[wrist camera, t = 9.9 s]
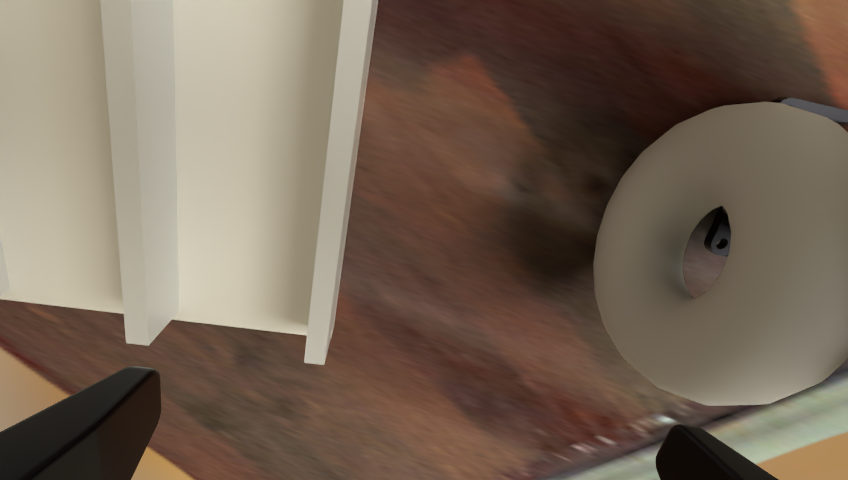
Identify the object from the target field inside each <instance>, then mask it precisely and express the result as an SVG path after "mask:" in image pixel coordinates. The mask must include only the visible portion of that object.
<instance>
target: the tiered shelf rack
mask: <svg viewBox="0 0 848 480" xmlns="http://www.w3.org/2000/svg"><path fill="white" fill-rule="evenodd" d="M377 6H378V0H0V299H4V300H12V301H20V302H29V303H37V304H46V305H54V306H63V307H71V308H79V309H88V310H96V311H105V312H113V313H122V314H124V322H125V335H126V343H130V344H139V345H148V346H149V345H150V344H151V342H152V341H153V340H154V339H155V338H156V337H157V336H158V334H159V333H160V332H161V331H162V330H163V329H164V328H165V327H166V325H167V324H168V323H169V322H170V321H171V320H181V321H189V322H198V323H206V324H214V325H223V326H231V327H240V328H248V329H257V330H265V331H273V332H282V333H290V334H299V335H307V340H306V349H305V358H304V363H312V364H321V365H324V364H325V360H326V355H327V351H328V347H329V342H330V338H331V337H332V333H333V328H334V322H335V315H336V308H337V300H338V293H339V286H340V278H341V271H342V264H343V256H344V249H345V242H346V234H347V227H348V220H349V212H350V205H351V197H352V190H353V183H354V175H355V168H356V161H357V153H358V146H359V139H360V131H361V124H362V117H363V109H364V102H365V94H366V87H367V80H368V72H369V65H370V58H371V50H372V43H373V36H374V28H375V21H376V14H377Z"/></svg>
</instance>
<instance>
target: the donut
mask: <svg viewBox="0 0 848 480" xmlns="http://www.w3.org/2000/svg"><path fill="white" fill-rule="evenodd" d="M719 206H723V207H724V209H725V210H726V212H727V214H728V218H729V223H730V228H731V241H730V251H729V255H728V257H727V260H726V262H725V265H724V268H723V270H722V273H721V274H720V275H719V277H718V278H717V279H716V281H715V282H714V283H713V285H712V286H711V287H710V289H709V290H707V291H706V292H705V293H703V294H702V295H701V296H699V297H698V298H695V299H694V298H693V297H692V296H691V295H690V293H689V291H688V289H687V287H686V285H685V282H684V277H683V270H682V269H683V260H684V251H685V249H686V246H687V243H688V241H689V238H690V235H691V233H692V232H693V230H694V229H695V227H696V226H697V224H698V223H699V221H700V220H701V219H702V218H703V217H704V216H705V215H707V214H708V213H709V212H710V211H711V210H713V209H715V208H717V207H719ZM593 271H594V288H595V297H596V301H597V305H598V308H599V312H600V315H601V319H602V322H603V325H604V327H605V329H606V331H607V333H608V334H609V336H610V338H611V339H612V341H613V343H614V344H615V346H616V348H617V349H618V351H619V353H620V354H621V356H622V358H623V359H625V360H626V361H627V362H628V363H629V364H630V365H631V366H633V367H634V368H635V369H636V370H637V371H638V372H639V373H641V374H642V375H643V376H644V377H645V378H646V379H647V380H649V381H650V382H651V383H652V384H654V385H655V386H656V387H657V388H660V389H663V390H665V391H668V392H671V393H673V394H676V395H679V396H681V397H684V398H687V399H689V400H692V401H695V402H698V403H701V404H704V405H707V406H718V405H759V404H770V403H772V402H775V401H777V400H779V399H782V398H784V397H787V396H789V395H792V394H794V393H796V392H799V391H801V390H804V389H806V388H809V387H811V386H814V385H816V384H818V383H820V382H822V381H823V380H824V379H826V378H827V377H828V376H829V375H830V374H831V373H832V372H833V371H835V370H836V369H837V368H838V367H839V366H840V365H841V364H842V363H843V362H844V361H845V360H846V359H847V358H848V132H847V131H846V130H845V129H843V128H842V127H841V126H840V125H839V124H837V123H836V122H834V121H832V120H830V119H829V118H827V117H824V116H821V115H818V114H815V113H811V112H808V111H805V110H802V109H799V108H795V107H792V106H789V105H786V104H782V103H774V102H758V103H747V104H736V105H725V106H721V107H717V108H713V109H710V110H708V111H706V112H703V113H701V114H699V115H697V116H694V117H692V118H690V119H687V120H685V121H683V122H681V123H678V124H676V125H675V126H674V127H672V128H671V129H670V130H669V131H667V132H666V133H665V134H664V135H662V136H661V137H660V138H659V139H657V140H656V141H655V142H654V143H652V144H651V145H650V146H649V147H647V148H646V149H645V150H644V151H642V153H641V154H640V155H639V156H638V158H637V159H636V160H635V161H634V163H633V164H632V165H631V166H630V168H629V169H628V170H627V171H626V172H625V174H624V175H623V176H622V178H621V180H620V181H619V183H618V185H617V187H616V189H615V191H614V193H613V195H612V197H611V198H610V200H609V202H608V204H607V206H606V210H605V213H604V216H603V219H602V222H601V225H600V228H599V231H598V234H597V241H596V248H595V256H594V263H593Z"/></svg>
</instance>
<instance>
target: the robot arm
mask: <svg viewBox="0 0 848 480" xmlns="http://www.w3.org/2000/svg"><path fill="white" fill-rule="evenodd" d="M772 102H774V103H782V104H786V105H789V106H792V107H795V108H799V109H802V110H805V111H808V112H811V113H815V114H818V115H821V116H824V117H827V118H829V119H830V120H832V121H834V122H836V123H837V124H839V125H840V126H841V127H842V128H843V129H845V130H846V131H847V132H848V110H843V109H839V108H835V107H830V106H826V105H821V104H817V103H813V102H808V101H804V100H800V99H795V98H786V97H779V98H777V99H774V100H773V101H772ZM720 239H721V241H720V243H719V244H717V242H718V241H719V240H720ZM730 241H731V228H730V223H729V218H728V214H727V212H726V210H725V209H724V207H723V206H720V208H719V210H718V212H717V214H716V217H715V219H714V221H713V223H712V225H711V227H710V229H709V231H708V234H707V236H706V238H705V241H704V245H705V248H706V249H707V250H709V251H711V252H713V253H715V254H717V255H723V256H728V255H729V251H730ZM716 244H717V245H716ZM160 414H161V390H160V375H159V372H158V371H157V370H156V369H154V368H146V367H137V366H130V367H126V368H124V369H122V370H120V371H118V372H116V373H114V374H112V375H110V376H108V377H106V378H104V379H102V380H100V381H99V382H97V383H95V384H93V385H91V386H89V387H87V388H85V389H83V390H81V391H79V392H77V393H75V394H73V395H71V396H69V397H67V398H66V399H64V400H62V401H60V402H58V403H56V404H54V405H52V406H50V407H48V408H46V409H44V410H42V411H40V412H38V413H36V414H34V415H33V416H31V417H29V418H27V419H25V420H23V421H21V422H19V423H17V424H15V425H13V426H11V427H9V428H7V429H5V430H4V431H2V432H0V480H131V478H132V476H133V474H134V472H135V470H136V468H137V466H138V463H139V461H140V459H141V457H142V455H143V453H144V451H145V449H146V447H147V445H148V443H149V441H150V439H151V437H152V434H153V432H154V430H155V428H156V426H157V424H158V421H159V418H160ZM656 468H657V471H658V474H659V477H660V479H661V480H778V479H777V478H775V477H773V476H772V475H770V474H769V473H768V472H766V471H764V470H763V469H761V468H760V467H759V466H757V465H756V464H754V463H753V462H751V461H750V460H748V459H747V458H745V457H744V456H742V455H741V454H739V453H738V452H736V451H735V450H733V449H732V448H730V447H729V446H727V445H726V444H724V443H723V442H721V441H720V440H718V439H717V438H715V437H714V436H712V435H711V434H709V433H708V432H706V431H705V430H703V429H701V428H699V427H697V426H691V425H682V424H678V425H675V426H673V427H672V428H671V429H670V431H669V433H668V434H667V436H666V438H665V440H664V442H663V444H662V446H661V448H660V449H659V451H658V453H657V456H656Z"/></svg>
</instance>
